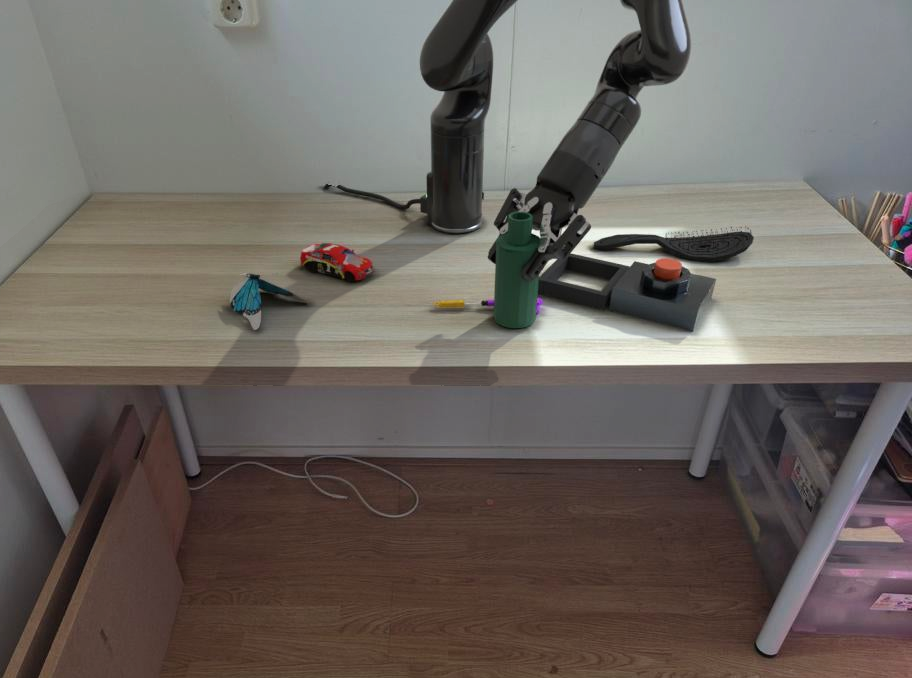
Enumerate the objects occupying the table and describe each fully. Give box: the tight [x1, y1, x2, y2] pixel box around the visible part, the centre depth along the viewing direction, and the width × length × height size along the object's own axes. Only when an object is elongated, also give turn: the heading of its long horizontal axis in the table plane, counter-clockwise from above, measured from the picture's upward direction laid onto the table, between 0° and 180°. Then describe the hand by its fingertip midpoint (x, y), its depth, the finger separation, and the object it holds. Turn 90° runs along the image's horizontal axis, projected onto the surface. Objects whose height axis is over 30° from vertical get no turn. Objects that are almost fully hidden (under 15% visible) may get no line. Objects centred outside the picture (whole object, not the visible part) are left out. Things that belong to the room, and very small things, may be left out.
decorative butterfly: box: [229, 272, 309, 331], centre depth 107 cm, size 10×6×10 cm
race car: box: [299, 242, 374, 283], centre depth 116 cm, size 13×5×4 cm, turn 57°
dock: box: [538, 252, 631, 311], centre depth 108 cm, size 11×11×2 cm
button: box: [653, 257, 683, 279], centre depth 100 cm, size 4×4×2 cm
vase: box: [493, 212, 540, 329], centre depth 97 cm, size 6×6×16 cm
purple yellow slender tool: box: [434, 297, 544, 314], centre depth 104 cm, size 3×1×16 cm
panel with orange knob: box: [608, 260, 717, 333], centre depth 102 cm, size 12×10×6 cm
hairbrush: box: [593, 225, 754, 263], centre depth 117 cm, size 8×4×25 cm
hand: (508, 269), depth 96 cm, fingers closed on vase, 6 cm apart
